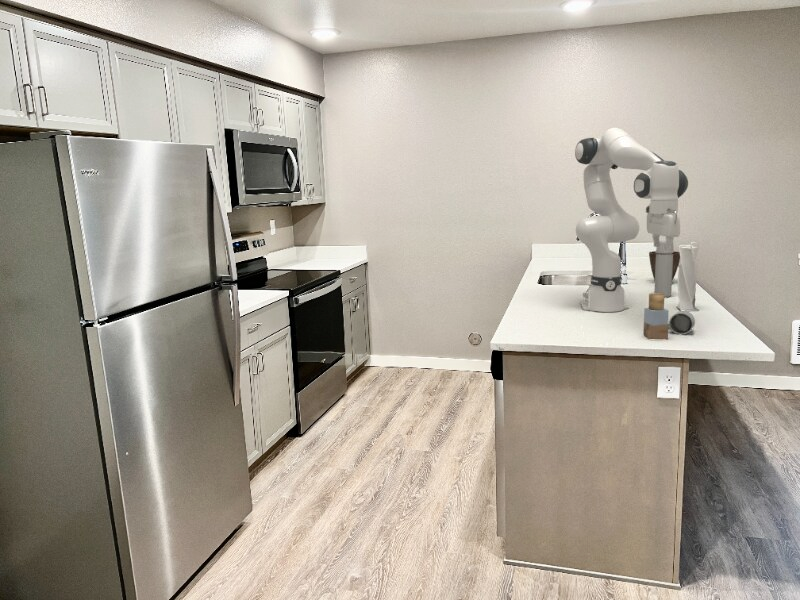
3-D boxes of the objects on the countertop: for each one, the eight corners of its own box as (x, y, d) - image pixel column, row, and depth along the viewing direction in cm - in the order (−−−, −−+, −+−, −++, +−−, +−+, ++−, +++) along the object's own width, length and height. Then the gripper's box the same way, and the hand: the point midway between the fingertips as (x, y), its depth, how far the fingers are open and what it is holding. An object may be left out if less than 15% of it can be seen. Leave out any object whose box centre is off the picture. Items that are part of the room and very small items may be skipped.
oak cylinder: (646, 307, 205) (646, 293, 204) (660, 307, 205) (660, 292, 204) (651, 310, 200) (652, 295, 199) (666, 309, 200) (666, 295, 199)
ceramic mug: (695, 330, 211) (695, 309, 210) (692, 335, 204) (693, 313, 203) (662, 328, 217) (663, 307, 215) (659, 333, 210) (659, 312, 208)
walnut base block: (643, 335, 207) (643, 321, 206) (660, 335, 207) (661, 321, 206) (649, 340, 201) (650, 325, 200) (667, 339, 201) (668, 325, 200)
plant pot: (656, 280, 316) (658, 250, 313) (685, 283, 305) (686, 251, 302) (642, 284, 307) (643, 253, 304) (670, 287, 295) (672, 254, 292)
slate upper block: (643, 322, 206) (644, 307, 205) (659, 321, 206) (659, 306, 205) (652, 325, 200) (652, 311, 199) (667, 324, 201) (668, 310, 200)
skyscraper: (700, 311, 239) (704, 242, 234) (678, 311, 241) (681, 242, 236) (694, 307, 247) (697, 240, 242) (673, 307, 249) (676, 240, 244)
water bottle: (674, 297, 269) (677, 242, 264) (657, 298, 269) (659, 242, 265) (666, 294, 278) (668, 240, 273) (649, 294, 278) (651, 241, 274)
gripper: (686, 209, 197) (684, 250, 200) (661, 207, 217) (659, 245, 220) (667, 209, 197) (665, 251, 200) (643, 207, 218) (642, 245, 220)
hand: (662, 248), depth 210 cm, fingers open, 8 cm apart
